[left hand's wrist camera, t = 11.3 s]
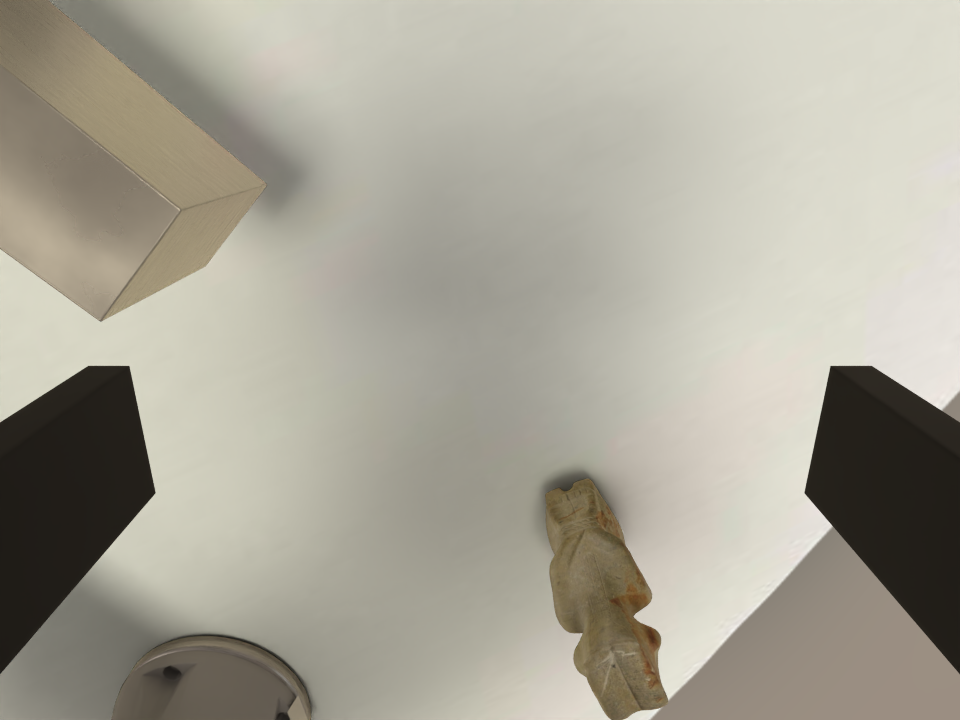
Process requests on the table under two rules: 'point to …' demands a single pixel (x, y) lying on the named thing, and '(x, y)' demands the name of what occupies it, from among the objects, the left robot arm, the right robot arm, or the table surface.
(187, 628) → the table surface
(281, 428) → the table surface
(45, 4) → the bar
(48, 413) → the left robot arm
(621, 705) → the sculpture
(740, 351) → the table surface
